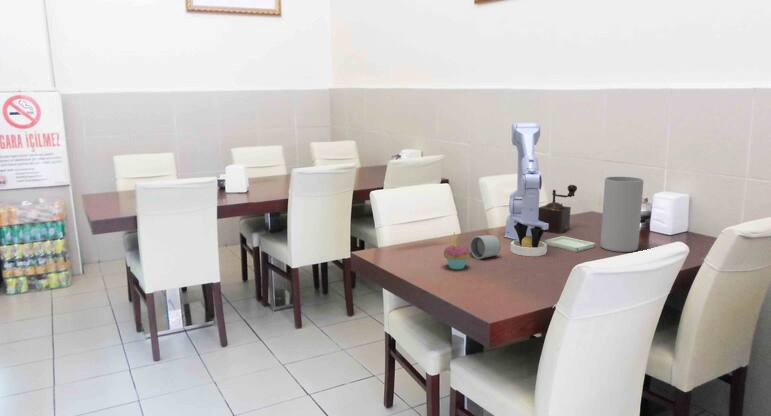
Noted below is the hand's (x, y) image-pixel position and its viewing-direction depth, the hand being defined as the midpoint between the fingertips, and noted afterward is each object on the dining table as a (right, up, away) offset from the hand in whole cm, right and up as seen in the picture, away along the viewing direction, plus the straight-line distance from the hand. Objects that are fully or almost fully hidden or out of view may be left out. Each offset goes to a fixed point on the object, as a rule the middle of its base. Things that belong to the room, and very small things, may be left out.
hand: (528, 245), depth 203 cm
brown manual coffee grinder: (+20, +5, +35) cm, 40 cm away
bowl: (0, -2, 0) cm, 2 cm away
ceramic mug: (-17, -3, -5) cm, 18 cm away
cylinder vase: (+33, -1, +4) cm, 34 cm away
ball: (0, +1, 0) cm, 1 cm away
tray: (+17, 0, +8) cm, 19 cm away
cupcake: (-28, -6, -18) cm, 33 cm away
